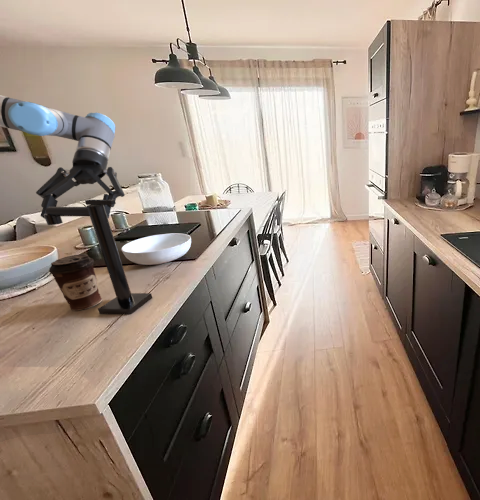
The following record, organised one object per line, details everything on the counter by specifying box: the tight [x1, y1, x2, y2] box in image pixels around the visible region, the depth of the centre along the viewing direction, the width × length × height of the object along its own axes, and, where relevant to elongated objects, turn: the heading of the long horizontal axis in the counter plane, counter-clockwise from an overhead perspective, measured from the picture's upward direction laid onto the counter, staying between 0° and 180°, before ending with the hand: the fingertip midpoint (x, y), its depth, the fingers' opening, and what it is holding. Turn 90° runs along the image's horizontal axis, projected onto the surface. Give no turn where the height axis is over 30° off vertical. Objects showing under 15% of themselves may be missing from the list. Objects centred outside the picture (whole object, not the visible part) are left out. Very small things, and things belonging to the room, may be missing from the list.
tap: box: [44, 199, 153, 315], centre depth 70 cm, size 17×8×28 cm, turn 88°
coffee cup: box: [48, 253, 103, 311], centre depth 73 cm, size 9×8×13 cm
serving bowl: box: [120, 232, 192, 266], centre depth 103 cm, size 21×21×7 cm
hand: (75, 217), depth 78 cm, fingers open, 13 cm apart
